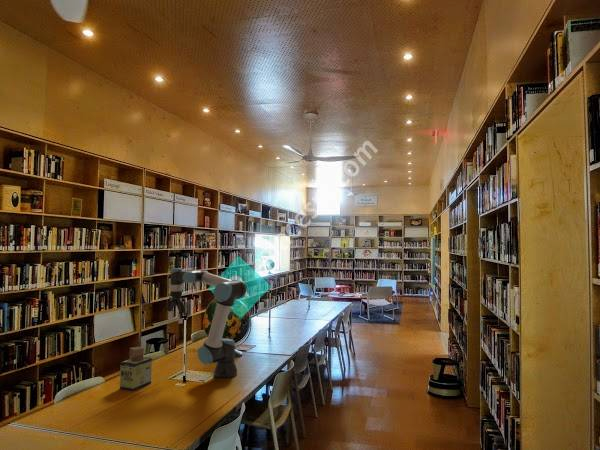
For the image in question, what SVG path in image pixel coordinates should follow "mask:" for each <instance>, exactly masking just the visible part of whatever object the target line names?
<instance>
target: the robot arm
mask: <svg viewBox="0 0 600 450" xmlns="http://www.w3.org/2000/svg"><path fill="white" fill-rule="evenodd" d="M208 271H209V270H191V271H189V270H188V271H183V269H182V267H173V268H171V270H170V287H169V288H170V289H169V290H170V294H169V295H170V297H168V298H169V299H168V303H167V305H166V306H167V308H166V310H167V311H168V322H171V321H173V318H174V316H173V315H174V311H173V310H174V307H175V306H176V307H177V310H178V311H177V312H178V324H180V325H181V324H183V322H184V317H183V318H182V314H183V315H184V314H185V313H186V310H185V306H184V301H183V300H184V299H183V298H181V297H182V293H183V291H182V290H183V283H185V284H191V283H202V284H206V285H209V286H212V287H214V289H213V295H214V296H213V297H214V300H215V303H216V306H215V309H214V314H213V316H212V321H211V325H210V329H209V333H208V337H207V338H206V339H204V342H203V345H201V346H200V347H198V349H197V357H198V360H199V361H200V363H202V364H203V365H206V366H207V365H211V364H214V363H215V364H216V365H215V366H214V370H213V376H214V377H216V378H220V379H226V378H233V377H236V376H237V375H238V369H237V366H236V362H235V355H236V354H235V353H236V352H235V351H236V344H235V340H234V339H232V338H226V337H225V338H224V337H223V335H224V332H225V328H226V323H227V320H228V318H229V317H228V316H229V314H230V309H231V307H234V304H235V300H240V299H243V297H245V295H246V293H247V285H246V284H245V283H244V282H243V281H241V280H238V279H236V278H235V279H229V278H225V277H223V276H220V275H217V274H213V273H210V272H208Z"/></svg>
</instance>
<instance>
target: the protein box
mask: <svg viewBox="0 0 600 450" xmlns="http://www.w3.org/2000/svg"><path fill="white" fill-rule="evenodd" d="M152 360H153V359H152V358H151V357H146V356H143V360H141V361H135V362H133V361H131V360H130V359H127V360H124V361H121V362H120V370H119V371H120V372H119V389H120V390H124V391H131V392H132V391H133V392H134V391H137V390H139V389H142V388H144V387H146V386H149V385H150V384H152V363H153V361H152Z"/></svg>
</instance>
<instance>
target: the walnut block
mask: <svg viewBox="0 0 600 450" xmlns="http://www.w3.org/2000/svg"><path fill="white" fill-rule="evenodd" d="M144 351H145V350H144V347H141V346H136V347H135V346H134V347H130V348H129V360H131V361H133V362H135V361H141V360H143V357H144V353H145V352H144Z"/></svg>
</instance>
